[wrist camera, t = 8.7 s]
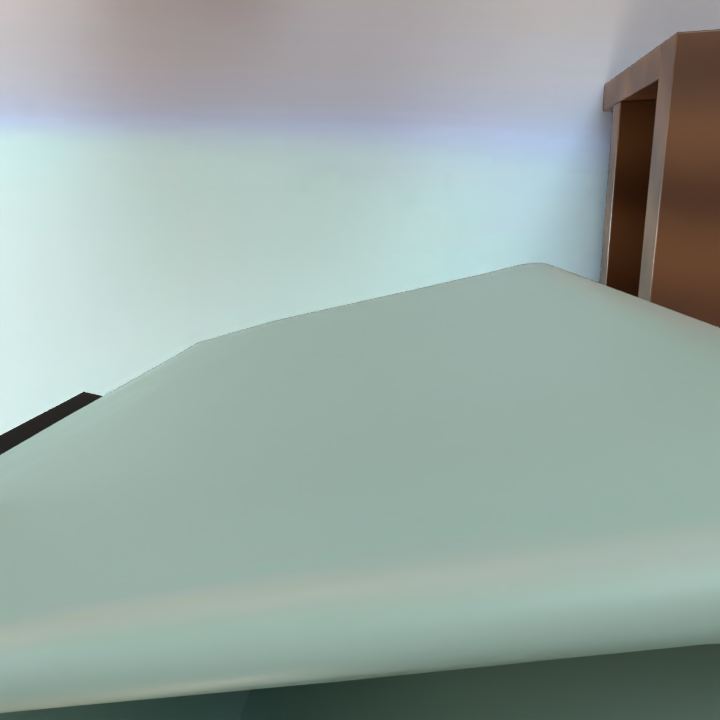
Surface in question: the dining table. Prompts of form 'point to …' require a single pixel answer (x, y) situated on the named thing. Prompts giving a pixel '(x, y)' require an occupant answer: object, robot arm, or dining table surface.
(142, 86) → the dining table surface
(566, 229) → the dining table surface
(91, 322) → the dining table surface
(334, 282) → the dining table surface
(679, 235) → the shelf
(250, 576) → the planter
